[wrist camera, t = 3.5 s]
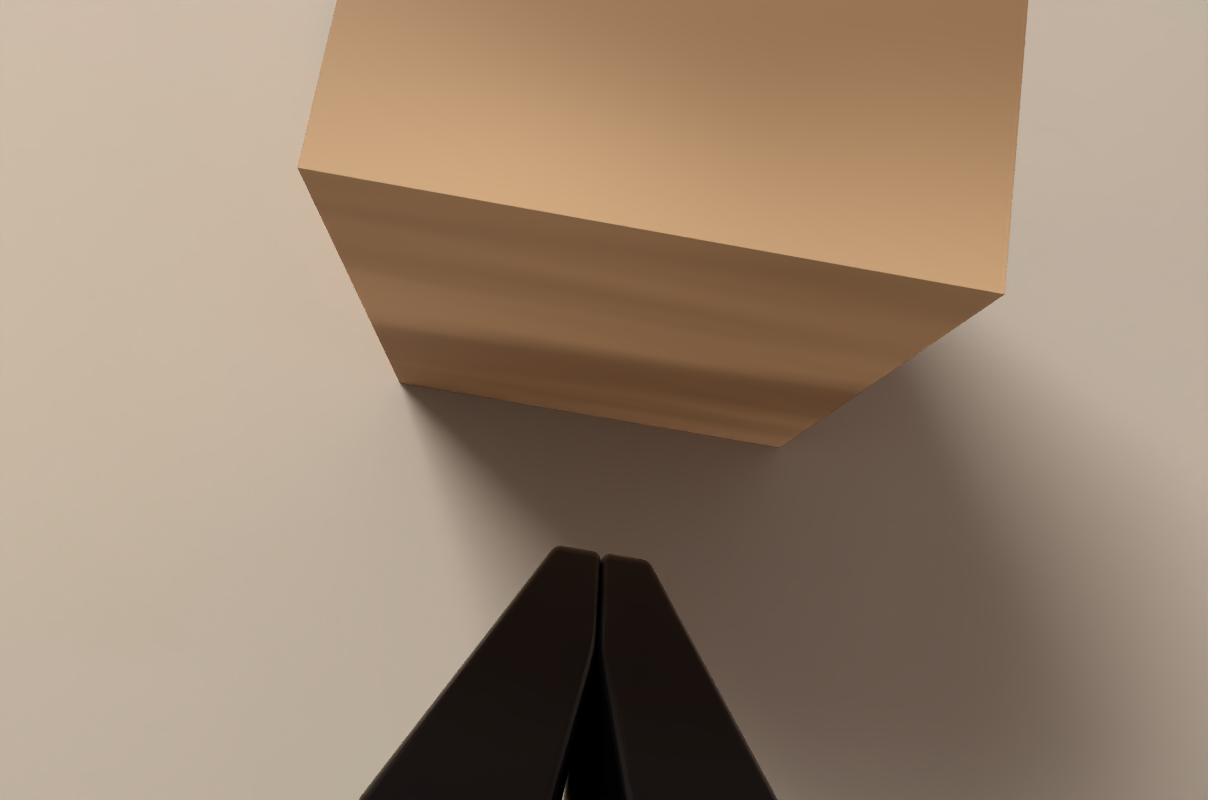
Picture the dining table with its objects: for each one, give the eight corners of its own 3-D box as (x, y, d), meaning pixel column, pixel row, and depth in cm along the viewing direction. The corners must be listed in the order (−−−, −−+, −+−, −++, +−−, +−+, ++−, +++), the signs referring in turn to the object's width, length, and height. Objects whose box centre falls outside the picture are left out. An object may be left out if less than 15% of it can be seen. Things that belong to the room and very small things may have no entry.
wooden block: (779, 447, 17) (1004, 294, 9) (399, 383, 17) (297, 167, 9) (811, 183, 18) (1041, -159, 10) (454, 118, 18) (404, -286, 10)
